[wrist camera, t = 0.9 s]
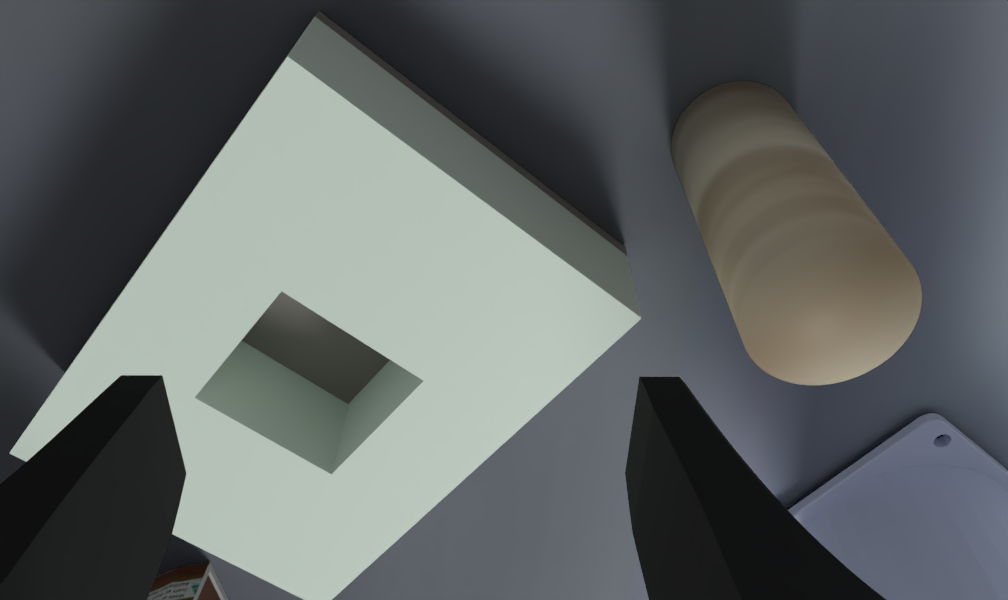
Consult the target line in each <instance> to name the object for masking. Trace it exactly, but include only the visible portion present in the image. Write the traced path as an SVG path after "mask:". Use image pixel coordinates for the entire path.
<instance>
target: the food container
mask: <svg viewBox="0 0 1008 600" xmlns="http://www.w3.org/2000/svg"><path fill="white" fill-rule="evenodd" d="M147 600H229V599H228V597H227V595H226V593H225V591H224V589H223V587H222V585H221V583H220V581H219V579H218V577H217V575H216V573H215V571H214V568H213V566H212V564H211V562H210V561H209V562H204V563H198V564H192V565H186V566H180V567H178V568H175V569H173V570H171V571H168V572H166V573H164V574H161V575H159V576H157V577H156V578H155V580H154V583H153V586H152V588H151V591H150V593H149V596H148V598H147Z"/></svg>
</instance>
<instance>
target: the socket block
mask: <svg viewBox="0 0 1008 600" xmlns="http://www.w3.org/2000/svg"><path fill="white" fill-rule="evenodd" d="M640 319H641V313H640V309H639V305H638V300H637V296H636V291H635V287H634V283H633V278H632V274H631V270H630V265H629V261H628V257H627V252H626V248H625V246H623V245H622V244H621V243H619V242H618V241H617V240H615V239H614V238H613V237H612V236H610V235H609V234H608V233H606V232H605V231H604V230H603V229H601V228H600V227H599V226H597V225H596V224H595V223H593V222H592V221H591V220H590V219H588V218H587V217H586V216H584V215H583V214H582V213H580V212H579V211H578V210H577V209H575V208H574V207H573V206H571V205H570V204H569V203H568V202H566V201H565V200H564V199H562V198H561V197H560V196H558V195H557V194H556V193H555V192H553V191H552V190H551V189H549V188H548V187H547V186H545V185H544V184H543V183H542V182H540V181H539V180H538V179H536V178H535V177H534V176H533V175H531V174H530V173H529V172H527V171H526V170H525V169H523V168H522V167H521V166H520V165H518V164H517V163H516V162H514V161H513V160H512V159H511V158H509V157H508V156H507V155H505V154H504V153H503V152H501V151H500V150H499V149H498V148H496V147H495V146H494V145H492V144H491V143H490V142H488V141H487V140H486V139H485V138H483V137H482V136H481V135H479V134H478V133H477V132H476V131H474V130H473V129H472V128H470V127H469V126H468V125H466V124H465V123H464V122H463V121H461V120H460V119H459V118H457V117H456V116H455V115H453V114H452V113H451V112H450V111H448V110H447V109H446V108H444V107H443V106H442V105H441V104H439V103H438V102H437V101H435V100H434V99H433V98H431V97H430V96H429V95H428V94H426V93H425V92H424V91H422V90H421V89H420V88H418V87H417V86H416V85H415V84H413V83H412V82H411V81H409V80H408V79H407V78H406V77H404V76H403V75H402V74H400V73H399V72H398V71H396V70H395V69H394V68H393V67H391V66H390V65H389V64H387V63H386V62H385V61H384V60H382V59H381V58H380V57H378V56H377V55H376V54H374V53H373V52H372V51H371V50H369V49H368V48H367V47H365V46H364V45H363V44H361V43H360V42H359V41H358V40H356V39H355V38H354V37H352V36H351V35H350V34H349V33H347V32H346V31H345V30H343V29H342V28H341V27H339V26H338V25H337V24H336V23H334V22H333V21H332V20H330V19H329V18H328V17H326V16H325V15H324V14H323V13H321V12H320V11H318V12H317V14H316V15H315V16H314V18H313V19H312V21H311V22H310V24H309V25H308V26H307V28H306V29H305V31H304V32H303V34H302V35H301V36H300V38H299V39H298V41H297V42H296V44H295V45H294V46H293V48H292V49H291V51H290V52H289V54H288V55H287V56H286V58H285V59H284V61H283V62H282V63H281V65H280V66H279V68H278V69H277V71H276V72H275V73H274V75H273V76H272V78H271V79H270V81H269V82H268V83H267V85H266V86H265V88H264V89H263V91H262V92H261V93H260V95H259V96H258V98H257V99H256V101H255V102H254V103H253V105H252V106H251V108H250V109H249V111H248V112H247V113H246V115H245V116H244V118H243V119H242V121H241V122H240V123H239V125H238V126H237V128H236V129H235V131H234V132H233V133H232V135H231V136H230V138H229V139H228V141H227V142H226V143H225V145H224V146H223V148H222V149H221V151H220V152H219V153H218V155H217V156H216V158H215V159H214V161H213V162H212V163H211V165H210V166H209V168H208V169H207V171H206V172H205V173H204V175H203V176H202V178H201V179H200V180H199V182H198V183H197V185H196V186H195V188H194V189H193V190H192V192H191V193H190V195H189V196H188V198H187V199H186V200H185V202H184V203H183V205H182V206H181V208H180V209H179V210H178V212H177V213H176V215H175V216H174V218H173V219H172V220H171V222H170V223H169V225H168V226H167V228H166V229H165V230H164V232H163V233H162V235H161V236H160V238H159V239H158V240H157V242H156V243H155V245H154V246H153V248H152V249H151V250H150V252H149V253H148V255H147V256H146V258H145V259H144V260H143V262H142V263H141V265H140V266H139V268H138V269H137V270H136V272H135V273H134V275H133V276H132V278H131V279H130V280H129V282H128V283H127V285H126V286H125V288H124V289H123V290H122V292H121V293H120V295H119V296H118V297H117V299H116V300H115V302H114V303H113V305H112V306H111V307H110V309H109V310H108V312H107V313H106V315H105V316H104V317H103V319H102V320H101V322H100V323H99V325H98V326H97V327H96V329H95V330H94V332H93V333H92V335H91V336H90V337H89V339H88V340H87V342H86V343H85V345H84V346H83V347H82V349H81V350H80V352H79V353H78V355H77V356H76V357H75V359H74V360H73V362H72V363H71V365H70V366H69V367H68V369H67V370H66V372H65V373H64V375H63V376H62V377H61V379H60V380H59V382H58V383H57V385H56V386H55V388H54V389H53V390H52V392H51V393H50V395H49V396H48V398H47V399H46V401H45V402H44V403H43V405H42V406H41V408H40V409H39V411H38V412H37V414H36V415H35V417H34V418H33V419H32V421H31V422H30V424H29V425H28V427H27V428H26V430H25V431H24V432H23V434H22V435H21V437H20V438H19V440H18V441H17V443H16V444H15V445H14V447H13V448H12V450H11V451H10V454H12V455H14V456H16V457H18V458H20V459H22V460H24V461H26V462H27V461H28V460H29V459H30V458H31V457H33V456H34V455H35V454H36V453H37V452H38V451H39V450H40V449H41V448H43V447H44V446H45V445H46V444H47V443H48V442H49V441H50V440H52V439H53V438H54V437H55V436H56V435H57V434H58V433H59V432H60V431H61V430H62V429H63V428H65V427H66V426H67V425H68V424H69V423H70V422H71V421H72V420H73V419H74V418H75V417H76V416H77V415H79V414H80V413H81V412H82V411H83V410H84V409H85V408H86V407H87V406H88V405H89V404H90V403H91V402H93V401H94V400H95V399H96V398H97V397H98V396H99V395H100V394H101V393H102V392H103V391H104V390H105V389H107V388H108V387H109V386H110V385H111V384H112V383H113V382H114V381H115V380H117V379H118V378H119V377H120V376H121V375H162V376H163V380H164V384H165V388H166V392H167V396H168V401H169V405H170V409H171V413H172V417H173V421H174V425H175V429H176V433H177V437H178V441H179V445H180V449H181V453H182V457H183V461H184V465H185V470H186V478H185V482H184V486H183V491H182V495H181V500H180V504H179V508H178V512H177V516H176V520H175V524H174V528H173V532H172V534H173V535H175V536H177V537H179V538H181V539H183V540H185V541H187V542H189V543H191V544H193V545H195V546H197V547H199V548H201V549H203V550H205V551H207V552H209V553H211V554H213V555H215V556H217V557H219V558H221V559H223V560H225V561H227V562H229V563H231V564H233V565H235V566H237V567H239V568H241V569H243V570H245V571H247V572H249V573H251V574H253V575H255V576H257V577H259V578H261V579H263V580H265V581H267V582H269V583H271V584H274V585H276V586H278V587H280V588H282V589H284V590H286V591H288V592H290V593H292V594H294V595H296V596H298V597H300V598H302V599H304V600H332V599H333V598H334V597H335V596H336V595H337V594H338V593H340V592H341V591H342V590H343V589H344V588H345V587H346V586H347V585H348V584H349V583H351V582H352V581H353V580H354V579H355V578H356V577H357V576H358V575H359V574H361V573H362V572H363V571H364V570H365V569H366V568H367V567H368V566H369V565H370V564H372V563H373V562H374V561H375V560H376V559H377V558H378V557H379V556H380V555H381V554H383V553H384V552H385V551H386V550H387V549H388V548H389V547H390V546H391V545H392V544H394V543H395V542H396V541H397V540H398V539H399V538H400V537H401V536H402V535H403V534H405V533H406V532H407V531H408V530H409V529H410V528H411V527H412V526H413V525H414V524H416V523H417V522H418V521H419V520H420V519H421V518H422V517H423V516H424V515H425V514H427V513H428V512H429V511H430V510H431V509H432V508H433V507H434V506H435V505H436V504H438V503H439V502H440V501H441V500H442V499H443V498H444V497H445V496H446V495H448V494H449V493H450V492H451V491H452V490H453V489H454V488H455V487H456V486H457V485H459V484H460V483H461V482H462V481H463V480H464V479H465V478H466V477H467V476H468V475H470V474H471V473H472V472H473V471H474V470H475V469H476V468H477V467H478V466H479V465H481V464H482V463H483V462H484V461H485V460H486V459H487V458H488V457H489V456H490V455H492V454H493V453H494V452H495V451H496V450H497V449H498V448H499V447H500V446H501V445H503V444H504V443H505V442H506V441H507V440H508V439H509V438H510V437H511V436H512V435H514V434H515V433H516V432H517V431H518V430H519V429H520V428H521V427H522V426H523V425H525V424H526V423H527V422H528V421H529V420H530V419H531V418H532V417H533V416H535V415H536V414H537V413H538V412H539V411H540V410H541V409H542V408H543V407H544V406H546V405H547V404H548V403H549V402H550V401H551V400H552V399H553V398H554V397H555V396H557V395H558V394H559V393H560V392H561V391H562V390H563V389H564V388H565V387H566V386H568V385H569V384H570V383H571V382H572V381H573V380H574V379H575V378H576V377H577V376H579V375H580V374H581V373H582V372H583V371H584V370H585V369H586V368H587V367H588V366H590V365H591V364H592V363H593V362H594V361H595V360H596V359H597V358H598V357H599V356H601V355H602V354H603V353H604V352H605V351H606V350H607V349H608V348H609V347H610V346H612V345H613V344H614V343H615V342H616V341H617V340H618V339H619V338H620V337H622V336H623V335H624V334H625V333H626V332H627V331H628V330H629V329H630V328H631V327H633V326H634V325H635V324H636V323H637V322H638V321H639V320H640Z"/></svg>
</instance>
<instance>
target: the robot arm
mask: <svg viewBox="0 0 1008 600" xmlns="http://www.w3.org/2000/svg"><path fill="white" fill-rule="evenodd" d="M940 435H943V436H942V437H940V438H938V439H936V438H937V437H938V436H940ZM625 474H626V482H627V491H628V500H629V508H630V515H631V523H632V531H633V536H634V540H635V544H636V548H637V552H638V556H639V560H640V565H641V569H642V573H643V577H644V581H645V585H646V589H647V593H648V597H649V600H1008V470H1007V469H1006V468H1005V467H1003V466H1002V465H1001V464H1000V463H998V462H997V461H996V460H995V459H994V458H992V457H991V456H990V455H989V454H987V453H986V452H985V451H984V450H983V449H981V448H980V447H979V446H978V445H977V444H975V443H974V442H973V441H972V440H970V439H969V438H968V437H967V436H966V435H964V434H963V433H962V432H961V431H959V430H958V429H957V428H956V427H955V426H953V425H952V424H951V423H950V422H948V421H947V420H946V419H945V418H944V417H942V416H941V415H939V414H935V413H929V414H925V415H922V416H920V417H919V418H917V419H916V420H914V421H913V422H911V423H910V424H909V425H907V426H906V427H904V428H903V429H902V430H900V431H899V432H897V433H896V434H895V435H893V436H892V437H890V438H889V439H887V440H886V441H885V442H883V443H882V444H880V445H879V446H878V447H876V448H875V449H873V450H872V451H871V452H869V453H868V454H866V455H865V456H863V457H862V458H861V459H859V460H858V461H856V462H855V463H854V464H852V465H851V466H849V467H848V468H847V469H845V470H844V471H842V472H841V473H839V474H838V475H837V476H835V477H834V478H832V479H831V480H830V481H828V482H827V483H825V484H824V485H823V486H821V487H820V488H818V489H817V490H816V491H814V492H813V493H811V494H810V495H808V496H807V497H806V498H804V499H803V500H801V501H800V502H799V503H797V504H796V505H794V506H793V507H792V508H790V509H789V510H787V509H786V508H785V507H784V506H783V505H782V504H781V502H780V501H779V500H778V499H777V498H776V497H775V496H774V495H773V494H772V493H771V491H770V490H769V489H768V488H767V487H766V486H765V485H764V484H763V482H762V481H761V480H760V479H759V478H758V477H757V475H756V474H755V473H754V472H753V471H752V469H751V468H750V467H749V466H748V465H747V464H746V462H745V461H744V460H743V459H742V458H741V456H740V455H739V454H738V453H737V452H736V450H735V449H734V448H733V447H732V445H731V444H730V443H729V442H728V440H727V439H726V438H725V436H724V435H723V434H722V433H721V431H720V430H719V429H718V427H717V426H716V425H715V423H714V422H713V421H712V419H711V418H710V417H709V415H708V414H707V413H706V411H705V410H704V409H703V407H702V406H701V405H700V403H699V402H698V400H697V399H696V398H695V396H694V395H693V394H692V392H691V391H690V389H689V388H688V387H687V385H686V384H685V383H684V382H683V381H682V379H681V378H680V377H639V384H638V391H637V398H636V404H635V411H634V418H633V425H632V431H631V438H630V445H629V452H628V459H627V465H626V472H625ZM185 478H186V470H185V465H184V461H183V457H182V453H181V449H180V445H179V441H178V437H177V433H176V429H175V425H174V421H173V417H172V413H171V409H170V405H169V401H168V396H167V392H166V388H165V384H164V380H163V376H162V375H121V376H120V377H119V378H118V379H117V380H115V381H114V382H113V383H112V384H111V385H110V386H109V387H108V388H107V389H105V390H104V391H103V392H102V393H101V394H100V395H99V396H98V397H97V398H96V399H95V400H94V401H93V402H91V403H90V404H89V405H88V406H87V407H86V408H85V409H84V410H83V411H82V412H81V413H80V414H79V415H77V416H76V417H75V418H74V419H73V420H72V421H71V422H70V423H69V424H68V425H67V426H66V427H65V428H63V429H62V430H61V431H60V432H59V433H58V434H57V435H56V436H55V437H54V438H53V439H52V440H50V441H49V442H48V443H47V444H46V445H45V446H44V447H43V448H41V449H40V450H39V451H38V452H37V453H36V454H35V455H34V456H33V457H31V458H30V459H29V460H28V461H27V462H26V463H25V464H24V465H23V466H21V467H20V468H19V469H18V470H17V471H16V472H14V473H13V474H12V475H11V476H10V477H8V478H7V479H6V480H5V481H4V482H2V483H1V484H0V600H147V598H148V596H149V593H150V591H151V588H152V586H153V583H154V580H155V578H156V575H157V573H158V570H159V567H160V565H161V562H162V560H163V557H164V554H165V552H166V549H167V546H168V544H169V541H170V538H171V535H172V532H173V528H174V524H175V520H176V516H177V512H178V508H179V504H180V500H181V495H182V491H183V486H184V482H185Z"/></svg>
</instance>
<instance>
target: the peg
mask: <svg viewBox="0 0 1008 600" xmlns="http://www.w3.org/2000/svg"><path fill="white" fill-rule="evenodd" d="M671 155H672V160H673V163H674V166H675V169H676V171H677V174H678V176H679V179H680V181H681V184H682V187H683V189H684V192H685V194H686V197H687V200H688V202H689V205H690V207H691V210H692V212H693V215H694V218H695V220H696V223H697V225H698V228H699V231H700V233H701V236H702V238H703V241H704V243H705V246H706V249H707V251H708V254H709V256H710V259H711V262H712V264H713V267H714V269H715V272H716V274H717V277H718V280H719V282H720V285H721V287H722V290H723V292H724V295H725V298H726V300H727V303H728V305H729V308H730V311H731V313H732V316H733V318H734V321H735V323H736V326H737V329H738V331H739V334H740V336H741V339H742V342H743V344H744V347H745V349H746V351H747V353H748V354H749V356H750V357H751V359H752V360H753V361H754V362H755V364H757V365H758V366H759V367H760V368H761V369H762V370H764V371H765V372H767V373H768V374H770V375H771V376H774V377H776V378H778V379H780V380H783V381H786V382H789V383H795V384H800V385H827V384H834V383H839V382H843V381H846V380H850V379H853V378H856V377H858V376H860V375H863V374H865V373H867V372H869V371H871V370H872V369H874V368H876V367H877V366H879V365H880V364H882V363H883V362H885V361H886V360H887V359H889V358H890V357H891V356H892V355H893V354H895V352H896V351H897V350H898V349H899V348H900V347H901V346H902V345H903V344H904V343H905V341H906V340H907V339H908V337H909V336H910V334H911V333H912V331H913V329H914V327H915V325H916V323H917V320H918V318H919V314H920V311H921V305H922V288H921V283H920V279H919V277H918V275H917V272H916V270H915V269H914V267H913V266H912V264H911V263H910V261H909V260H908V259H907V257H906V256H905V255H904V253H903V252H902V251H901V250H900V248H899V247H898V246H897V244H896V243H895V242H894V240H893V239H892V238H891V236H890V235H889V234H888V232H887V231H886V230H885V229H884V227H883V226H882V225H881V223H880V222H879V221H878V219H877V218H876V217H875V215H874V214H873V213H872V211H871V210H870V209H869V208H868V206H867V205H866V204H865V202H864V201H863V200H862V198H861V197H860V196H859V194H858V193H857V192H856V191H855V189H854V188H853V187H852V185H851V184H850V183H849V181H848V180H847V179H846V177H845V176H844V175H843V173H842V172H841V171H840V170H839V168H838V167H837V166H836V164H835V163H834V162H833V160H832V159H831V158H830V156H829V155H828V154H827V152H826V151H825V150H824V149H823V147H822V146H821V145H820V143H819V142H818V141H817V139H816V138H815V137H814V135H813V134H812V133H811V131H810V130H809V129H808V128H807V126H806V125H805V124H804V122H803V121H802V120H801V118H800V117H799V116H798V114H797V113H796V112H795V110H794V109H793V108H792V107H791V105H790V104H789V103H788V101H787V100H786V99H785V98H784V97H783V96H782V95H781V94H780V93H779V92H777V91H776V90H774V89H773V88H771V87H769V86H767V85H764V84H762V83H758V82H753V81H733V82H727V83H724V84H720V85H718V86H715V87H713V88H711V89H709V90H707V91H705V92H704V93H702V94H701V95H699V96H698V97H697V98H695V99H694V100H693V101H692V102H691V103H690V104H689V105H688V106H687V108H686V109H685V110H684V111H683V113H682V114H681V116H680V117H679V119H678V121H677V123H676V126H675V128H674V131H673V135H672V140H671Z"/></svg>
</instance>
